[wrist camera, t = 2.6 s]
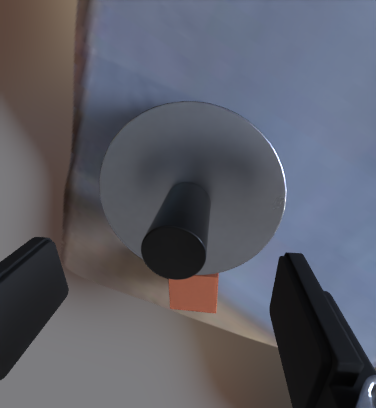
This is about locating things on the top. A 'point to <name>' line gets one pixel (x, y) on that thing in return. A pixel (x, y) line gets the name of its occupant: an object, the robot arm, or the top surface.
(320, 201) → the top surface
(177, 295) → the block
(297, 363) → the robot arm
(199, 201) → the lid
